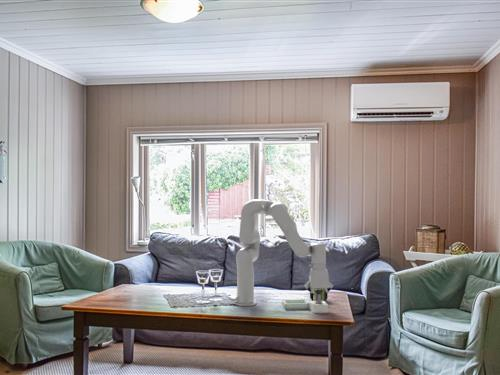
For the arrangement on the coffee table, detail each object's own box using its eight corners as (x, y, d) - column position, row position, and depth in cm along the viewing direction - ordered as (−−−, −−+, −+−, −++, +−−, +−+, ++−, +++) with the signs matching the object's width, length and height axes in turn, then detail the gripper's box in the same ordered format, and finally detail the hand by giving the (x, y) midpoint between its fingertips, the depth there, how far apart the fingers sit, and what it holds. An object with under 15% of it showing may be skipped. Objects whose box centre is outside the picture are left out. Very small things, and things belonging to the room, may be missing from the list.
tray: (285, 309, 217) (285, 304, 217) (282, 304, 227) (282, 299, 227) (309, 309, 218) (309, 303, 218) (305, 304, 228) (305, 299, 228)
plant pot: (327, 302, 232) (327, 287, 233) (311, 301, 234) (311, 286, 234) (327, 298, 241) (327, 284, 242) (311, 298, 243) (311, 283, 244)
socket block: (313, 312, 211) (313, 305, 211) (309, 308, 219) (309, 301, 219) (328, 312, 212) (328, 304, 212) (324, 308, 220) (324, 301, 220)
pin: (315, 311, 213) (315, 290, 214) (314, 309, 217) (314, 289, 218) (323, 311, 213) (323, 290, 214) (321, 309, 218) (321, 288, 218)
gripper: (304, 267, 212) (304, 302, 211) (336, 267, 213) (336, 301, 213) (301, 265, 219) (301, 298, 219) (332, 265, 221) (332, 298, 220)
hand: (318, 299), depth 216 cm, fingers open, 6 cm apart
